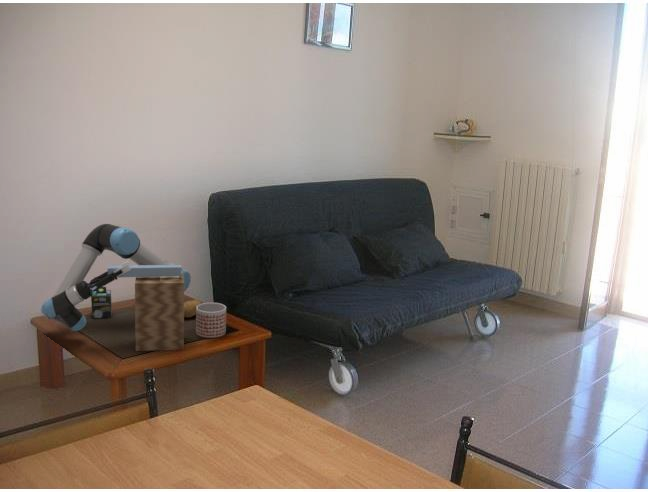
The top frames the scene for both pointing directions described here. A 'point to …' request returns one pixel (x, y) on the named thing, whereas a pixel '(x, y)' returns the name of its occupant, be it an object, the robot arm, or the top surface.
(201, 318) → the planter
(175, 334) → the stand
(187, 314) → the potato
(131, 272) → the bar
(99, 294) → the chalk box
